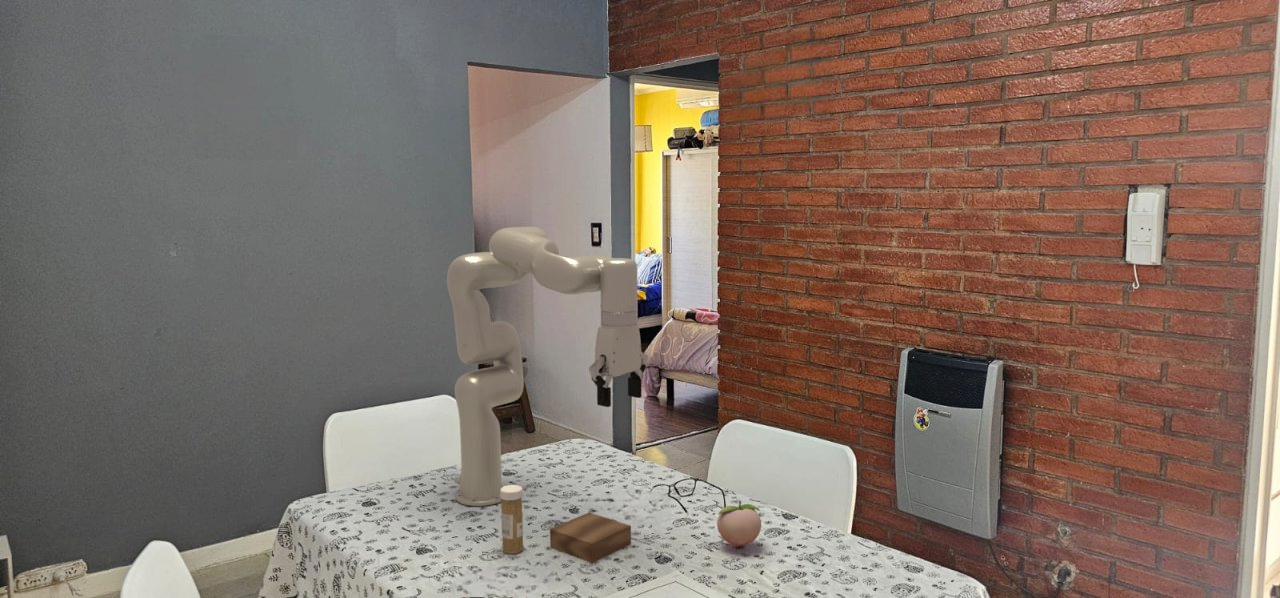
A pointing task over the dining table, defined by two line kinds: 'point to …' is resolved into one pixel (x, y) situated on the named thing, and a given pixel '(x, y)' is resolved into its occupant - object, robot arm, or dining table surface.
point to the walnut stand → (590, 537)
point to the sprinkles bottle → (512, 519)
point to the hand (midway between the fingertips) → (619, 401)
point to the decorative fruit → (739, 524)
